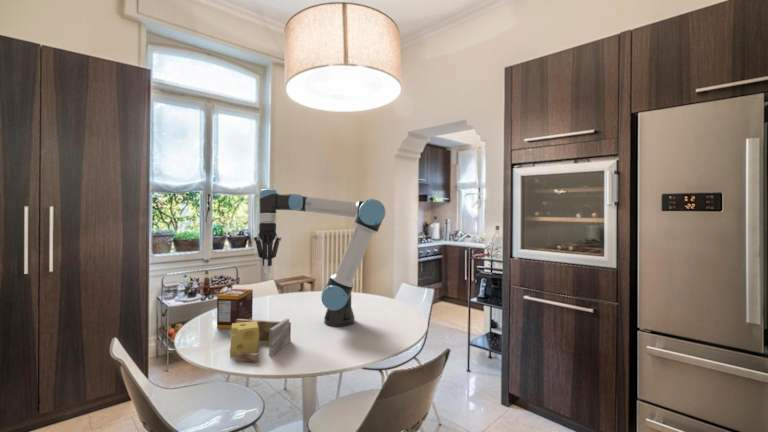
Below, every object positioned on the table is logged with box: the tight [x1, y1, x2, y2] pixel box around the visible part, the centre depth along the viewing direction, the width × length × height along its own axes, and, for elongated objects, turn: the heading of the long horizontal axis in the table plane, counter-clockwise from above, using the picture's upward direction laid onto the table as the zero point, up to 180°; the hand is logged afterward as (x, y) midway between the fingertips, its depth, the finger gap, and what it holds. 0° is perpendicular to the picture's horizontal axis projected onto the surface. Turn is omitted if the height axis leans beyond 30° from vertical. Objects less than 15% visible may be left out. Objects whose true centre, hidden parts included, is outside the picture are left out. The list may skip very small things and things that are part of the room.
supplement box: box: [216, 288, 254, 329], centre depth 174 cm, size 10×15×16 cm
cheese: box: [229, 321, 260, 357], centre depth 141 cm, size 10×11×10 cm
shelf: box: [235, 318, 292, 364], centre depth 142 cm, size 24×24×10 cm
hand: (267, 272), depth 166 cm, fingers closed
